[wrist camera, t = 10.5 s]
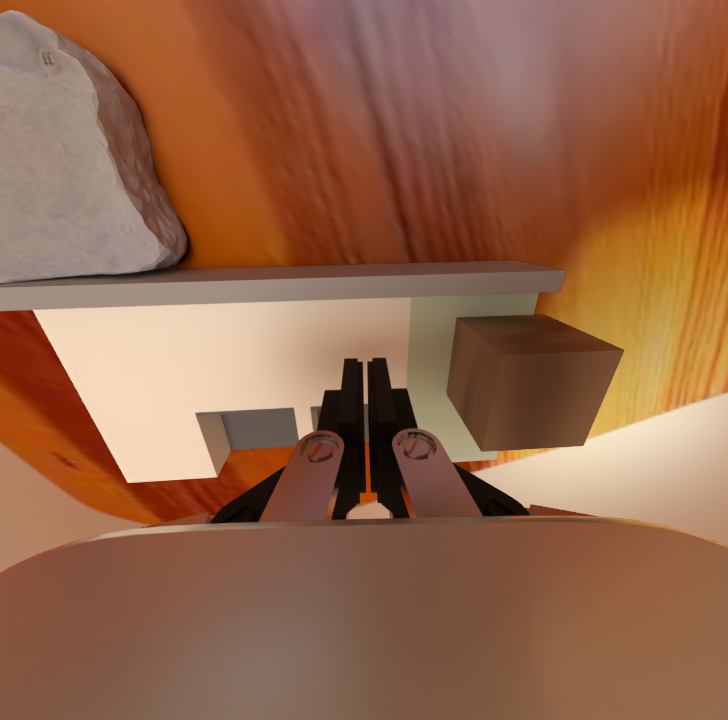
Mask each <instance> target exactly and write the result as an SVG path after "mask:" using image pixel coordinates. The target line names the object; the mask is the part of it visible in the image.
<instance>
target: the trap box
mask: <svg viewBox="0 0 728 720" xmlns="http://www.w3.org/2000/svg"><path fill="white" fill-rule="evenodd" d="M565 274H566V270H561V269H556V268H551V267H546V266H541V265H536V264H531V263H526V262H521V261H516V260H500V261H464V262H428V263H392V264H357V265H321V266H285V267H249V268H214V269H178V270H147V271H141V272H134V273H122V274H96V275H82V276H68V277H56V278H48V279H38V280H28V281H19V282H14V283H8V284H2V285H0V311H12V310H33V312H34V313H35V315H36V317H37V319H38V321H39V322H40V324H41V326H42V328H43V330H44V332H45V333H46V335H47V337H48V339H49V341H50V342H51V344H52V346H53V348H54V350H55V351H56V353H57V355H58V357H59V359H60V361H61V362H62V364H63V366H64V368H65V370H66V371H67V373H68V375H69V377H70V379H71V381H72V382H73V384H74V386H75V388H76V390H77V391H78V393H79V395H80V397H81V399H82V400H83V402H84V404H85V406H86V408H87V410H88V411H89V413H90V415H91V417H92V419H93V420H94V422H95V424H96V426H97V428H98V430H99V431H100V433H101V435H102V437H103V439H104V440H105V442H106V444H107V446H108V448H109V449H110V451H111V453H112V455H113V457H114V459H115V460H116V462H117V464H118V466H119V468H120V469H121V471H122V473H123V475H124V477H125V478H126V480H127V482H128V483H132V482H148V481H164V480H180V479H195V478H211V477H218V475H219V473H220V471H221V469H222V467H223V465H224V463H225V461H226V459H227V457H228V455H229V453H230V451H231V450H241V449H258V448H275V447H292V446H296V444H297V443H298V442H299V440H300V439H301V438H303V437H304V436H305V435H307V434H309V433H311V432H316V431H317V426H318V421H319V416H320V411H321V406H322V401H323V396H324V392H325V390H341V384H342V375H343V366H344V358H358V362H363V385H364V429H365V442H369V430H368V380H367V361H372V358H386V361H387V366H388V372H389V377H390V382H391V388H392V389H393V388H407V390H408V394H409V397H410V401H411V405H412V408H413V412H414V415H415V419H416V423H417V426H418V429H422V430H425V431H428V432H430V433H432V434H433V435H434V436H436V437H437V438H438V440H439V441H440V442H441V444H442V446H443V447H444V449H445V451H446V453H447V454H448V456H449V458H450V460H451V461H452V462H464V461H480V460H496V459H497V456H498V452H499V451H487V452H481V451H480V449H479V447H478V446H477V444H476V442H475V441H474V439H473V437H472V436H471V434H470V432H469V431H468V429H467V427H466V426H465V424H464V422H463V421H462V419H461V418H460V416H459V414H458V413H457V411H456V409H455V408H454V406H453V404H452V403H451V401H450V399H449V398H448V396H447V394H446V392H447V384H448V377H449V369H450V362H451V354H452V347H453V339H454V332H455V325H456V317H482V316H511V315H534V311H535V307H536V303H537V299H538V295H539V293H543V292H560V291H561V288H562V284H563V281H564V277H565Z"/></svg>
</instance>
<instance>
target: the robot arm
mask: <svg viewBox="0 0 728 720" xmlns="http://www.w3.org/2000/svg"><path fill="white" fill-rule="evenodd" d="M367 380H368V430H369V454H370V478H371V493H372V492H377V497H378V503H381V504H382V505H383V506H385V507H386V508H387V509H388V510H389V511H390V519H349V511H350V510H352V509H353V508H354V507H355V506H356V505H357V504H358V503H360V493H366V473H365V429H364V385H363V362H358V358H344V366H343V375H342V384H341V390H325V392H324V396H323V401H322V406H321V411H320V416H319V421H318V426H317V431H316V432H311V433H309V434H307V435H305V436H304V437H303V438H301V439H300V440H299V442H298V443H297V444H296V446H295V448H294V450H293V452H292V454H291V456H290V458H289V460H288V462H287V465H286V466H285V467H283V468H282V469H280V470H279V471H277V472H276V473H274V474H273V475H271V476H269V477H268V478H266V479H265V480H263V481H262V482H260V483H259V484H257V485H256V486H254V487H253V488H251V489H250V490H248V491H247V492H245V493H244V494H242V495H241V496H239V497H238V498H236V499H235V500H233V501H232V502H230V503H229V504H227V505H226V506H225V507H223V508H222V509H221V510H220V511H218V513H217V514H216V515H214V516H210V515H209V513H203V514H199V515H195V516H190V517H186V518H182V519H177V520H173V521H169V522H164V523H160V524H156V525H151V526H147V527H142V528H138V529H131V530H124V531H118V532H111V533H106V534H102V535H98V536H94V537H90V538H85V539H81V540H78V541H74V542H71V543H68V544H65V545H62V546H59V547H56V548H54V549H51V550H48V551H45V552H42V553H40V554H37V555H35V556H33V557H30V558H28V559H26V560H24V561H21V562H19V563H17V564H16V565H13V566H11V567H9V568H7V569H6V570H4V571H2V572H0V720H728V546H727V545H724V544H722V543H720V542H717V541H714V540H712V539H709V538H706V537H703V536H701V535H697V534H694V533H690V532H687V531H683V530H679V529H676V528H673V527H669V526H664V525H659V524H654V523H649V522H644V521H638V520H631V519H622V518H612V517H598V516H593V515H587V514H581V513H576V512H571V511H565V510H559V509H554V508H548V507H542V506H537V505H531V506H530V508H524V507H523V506H522V504H520V503H519V502H518V501H516V500H515V499H513V498H512V497H510V496H508V495H507V494H505V493H504V492H502V491H500V490H498V489H497V488H495V487H493V486H491V485H490V484H488V483H486V482H485V481H483V480H481V479H480V478H478V477H476V476H475V475H473V474H471V473H469V472H468V471H466V470H464V469H463V468H461V467H459V466H457V465H456V464H454V463H452V461H451V460H450V458H449V456H448V454H447V453H446V451H445V449H444V447H443V446H442V444H441V442H440V441H439V440H438V438H437V437H436V436H434V435H433V434H432V433H430V432H428V431H425V430H422V429H418V426H417V423H416V419H415V415H414V412H413V408H412V405H411V401H410V397H409V394H408V390H407V388H393V389H392V388H391V382H390V377H389V372H388V366H387V361H386V358H372V361H367Z"/></svg>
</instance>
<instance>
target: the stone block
mask: <svg viewBox="0 0 728 720" xmlns="http://www.w3.org/2000/svg"><path fill="white" fill-rule="evenodd" d="M186 247H187V237H186V234H185V232H184V229H183V226H182V224H181V222H180V221H179V219H178V215H177V213H176V212H175V210H174V208H173V207H172V205H171V203H170V201H169V198H168V196H167V194H166V193H165V191H164V189H163V187H162V186H161V185H160V184H159V182H158V179H157V177H156V174H155V172H154V167H153V162H152V157H151V148H150V142H149V139H148V136H147V133H146V130H145V128H144V124H143V121H142V116H141V114H140V111H139V109H138V107H137V105H136V103H135V101H134V100H133V99H132V98H131V97H130V96H129V94H128V93H127V92H126V91H125V90H124V88H123V87H122V86H121V84H120V83H119V82H118V80H117V79H116V78H115V76H114V75H113V73H112V72H111V71H110V70H109V69H108V68H107V67H106V66H105V65H104V64H103V63H102V62H101V61H99V60H98V59H97V58H96V57H95V56H94V55H92V54H91V53H90V52H89V51H87V50H85V49H84V48H82V47H80V46H79V45H77V44H76V43H74V42H73V41H71V40H70V39H68V38H67V37H65V36H64V35H62V34H60V33H58V32H56V31H55V30H53V29H51V28H49V27H47V26H45V25H44V24H42V23H40V22H38V21H37V20H36V19H35V18H33V17H31V16H29V15H27V14H24V13H22V12H17V11H12V10H9V11H6V12H4V13H1V14H0V283H8V282H18V281H28V280H38V279H48V278H56V277H68V276H82V275H96V274H122V273H134V272H141V271H147V270H152V269H159V268H166V267H170V266H171V265H177V264H178V262H179V260H180V259H181V258H182V256H183V255H184V254H185V253H186Z"/></svg>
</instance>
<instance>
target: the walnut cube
mask: <svg viewBox="0 0 728 720" xmlns="http://www.w3.org/2000/svg"><path fill="white" fill-rule="evenodd" d="M623 352H624V350H623V349H621V348H619V347H616V346H614V345H612V344H610V343H607V342H605V341H603V340H600V339H598V338H596V337H594V336H591V335H589V334H587V333H585V332H582V331H580V330H578V329H576V328H573V327H571V326H569V325H567V324H564V323H562V322H560V321H558V320H555V319H553V318H551V317H549V316H546V315H544V314H540V315H511V316H482V317H456V325H455V332H454V339H453V347H452V354H451V362H450V369H449V377H448V384H447V392H446V394H447V396H448V398H449V399H450V401H451V403H452V404H453V406H454V408H455V409H456V411H457V413H458V414H459V416H460V418H461V419H462V421H463V422H464V424H465V426H466V427H467V429H468V431H469V432H470V434H471V436H472V437H473V439H474V441H475V442H476V444H477V446H478V447H479V449H480V451H481V452H487V451H504V450H521V449H538V448H554V447H571V446H583V445H584V443H585V441H586V438H587V436H588V434H589V431H590V429H591V427H592V424H593V422H594V420H595V417H596V415H597V413H598V410H599V408H600V406H601V403H602V401H603V399H604V396H605V394H606V392H607V389H608V387H609V385H610V383H611V380H612V378H613V376H614V373H615V371H616V369H617V366H618V364H619V362H620V359H621V357H622V355H623Z"/></svg>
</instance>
